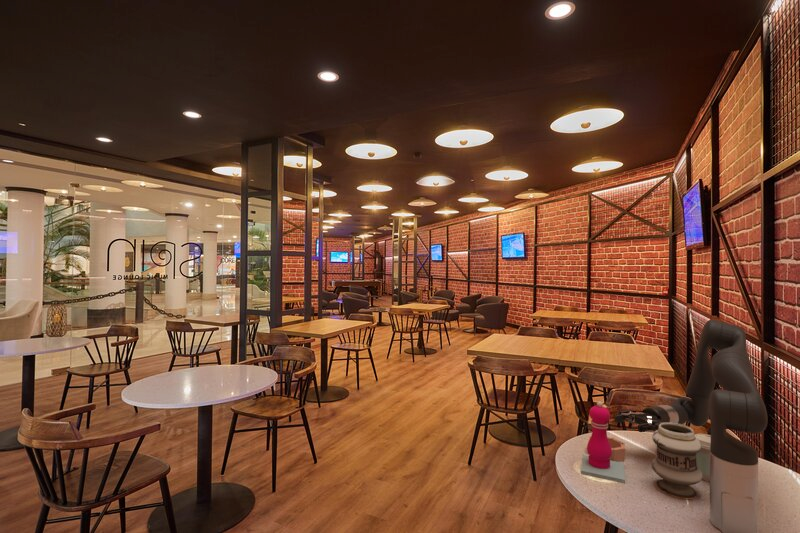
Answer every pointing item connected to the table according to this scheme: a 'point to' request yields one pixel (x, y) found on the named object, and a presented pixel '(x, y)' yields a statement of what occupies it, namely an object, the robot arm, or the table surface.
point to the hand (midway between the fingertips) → (626, 423)
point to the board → (604, 470)
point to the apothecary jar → (676, 460)
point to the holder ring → (616, 449)
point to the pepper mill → (599, 438)
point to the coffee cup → (704, 455)
